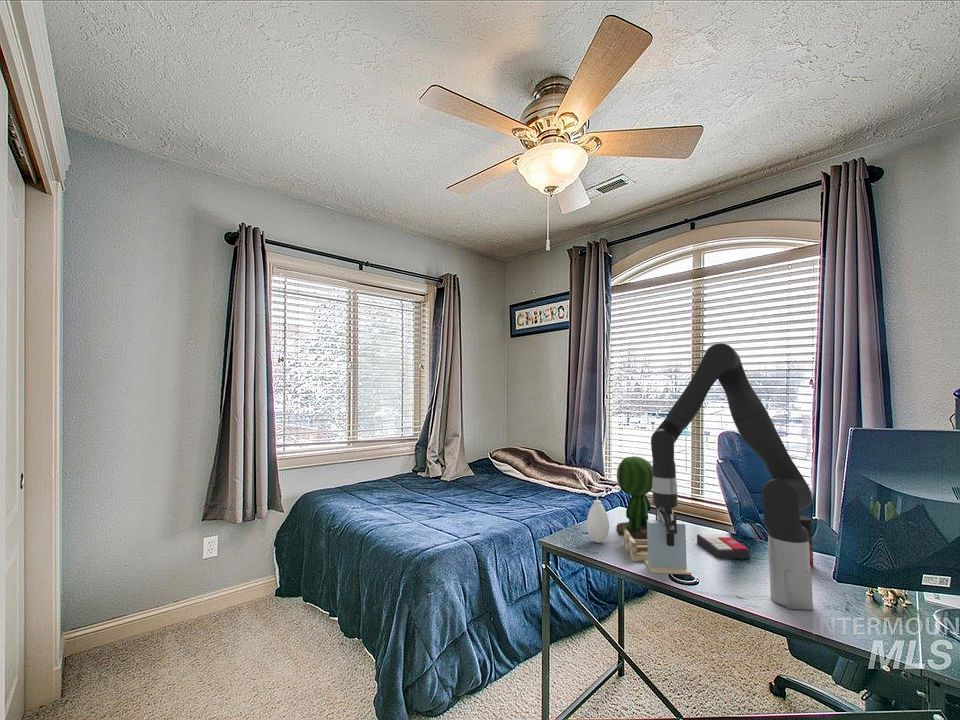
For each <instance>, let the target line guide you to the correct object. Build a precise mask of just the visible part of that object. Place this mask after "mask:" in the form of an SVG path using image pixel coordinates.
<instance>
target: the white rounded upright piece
mask: <svg viewBox="0 0 960 720" xmlns="http://www.w3.org/2000/svg"><path fill="white" fill-rule="evenodd" d="M586 529H587V533H588V536H589V537H590V538H591V540H593V542H595V543H596V544H597V543H598V544H600V543H602V542H604V541H605V540H606V539H607V537H608V535H609V531H610V521H609V516H608V513H607V510H606V508H605V506H604V505H603V504H602V501H601V500H599V495H598V493H596V500H595V499H594V500H593V504H592V505H591V507H590V509H589V511H588V515H587V518H586Z"/></svg>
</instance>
